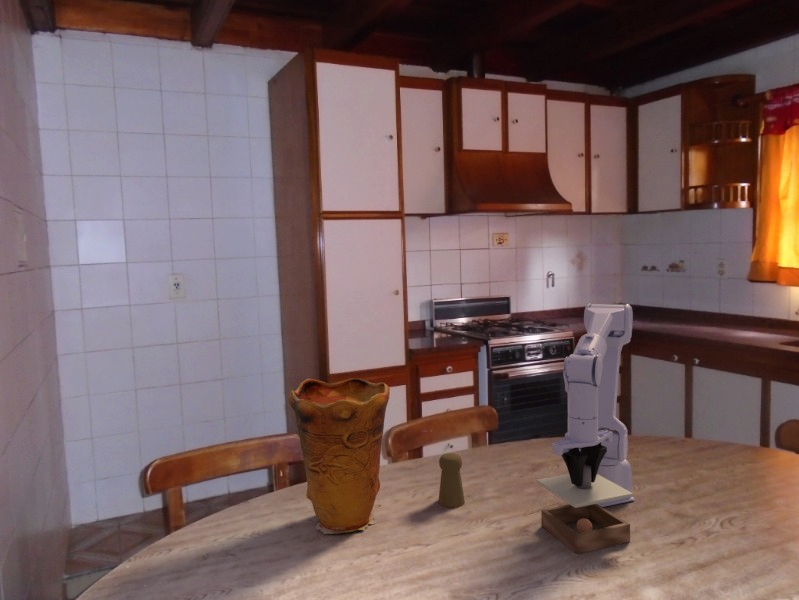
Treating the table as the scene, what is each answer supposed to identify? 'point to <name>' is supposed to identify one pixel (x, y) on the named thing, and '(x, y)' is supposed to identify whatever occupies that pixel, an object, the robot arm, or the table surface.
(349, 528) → the vase
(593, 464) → the robot arm
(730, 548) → the table surface
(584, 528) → the terracotta ball
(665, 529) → the table surface
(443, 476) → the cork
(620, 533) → the walnut crate
